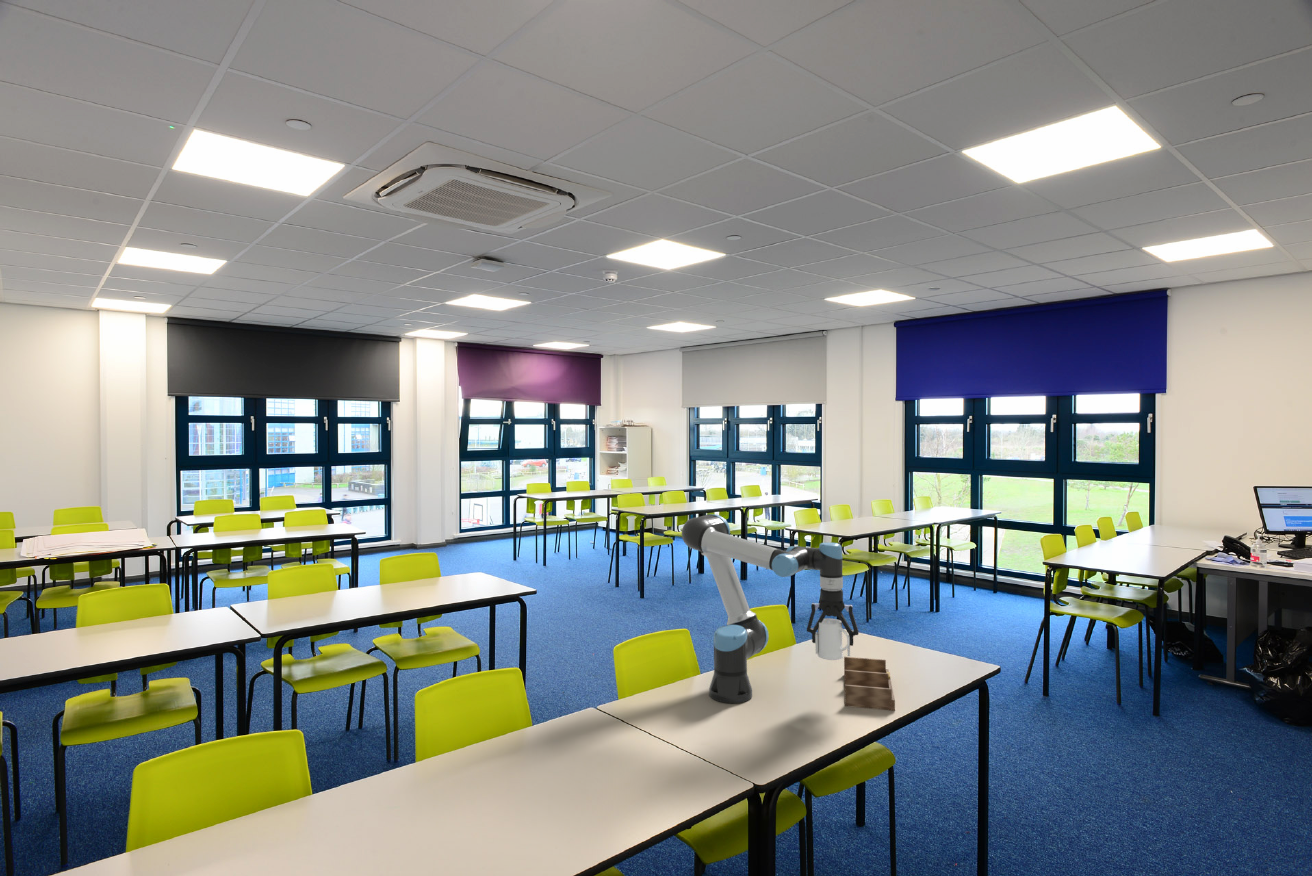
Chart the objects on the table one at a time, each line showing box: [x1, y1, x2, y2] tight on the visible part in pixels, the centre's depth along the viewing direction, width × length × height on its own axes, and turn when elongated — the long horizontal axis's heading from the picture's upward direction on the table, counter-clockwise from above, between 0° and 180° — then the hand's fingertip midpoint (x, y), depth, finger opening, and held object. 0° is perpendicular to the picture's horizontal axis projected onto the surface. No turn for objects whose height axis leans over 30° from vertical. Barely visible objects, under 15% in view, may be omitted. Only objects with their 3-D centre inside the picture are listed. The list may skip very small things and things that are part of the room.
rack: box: [843, 656, 896, 711], centre depth 238 cm, size 16×30×7 cm, turn 165°
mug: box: [817, 617, 849, 661], centre depth 228 cm, size 12×8×12 cm
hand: (832, 653), depth 228 cm, fingers closed on mug, 10 cm apart
